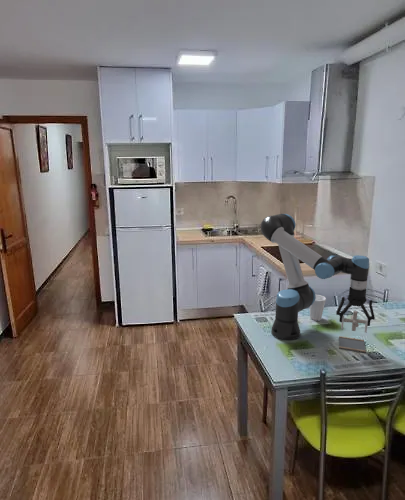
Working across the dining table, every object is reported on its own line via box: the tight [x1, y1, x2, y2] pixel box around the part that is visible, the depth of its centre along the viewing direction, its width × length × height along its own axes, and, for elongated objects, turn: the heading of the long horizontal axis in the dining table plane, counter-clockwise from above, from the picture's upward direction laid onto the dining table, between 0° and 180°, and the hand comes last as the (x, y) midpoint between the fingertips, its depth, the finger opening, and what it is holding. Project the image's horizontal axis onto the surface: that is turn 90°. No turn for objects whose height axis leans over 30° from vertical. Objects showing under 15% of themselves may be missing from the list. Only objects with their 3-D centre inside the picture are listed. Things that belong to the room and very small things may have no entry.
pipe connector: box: [344, 310, 366, 332], centre depth 175 cm, size 10×10×10 cm
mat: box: [338, 335, 366, 354], centre depth 178 cm, size 12×12×1 cm
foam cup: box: [308, 294, 327, 321], centre depth 208 cm, size 10×9×13 cm
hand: (353, 329), depth 176 cm, fingers closed on pipe connector, 10 cm apart
